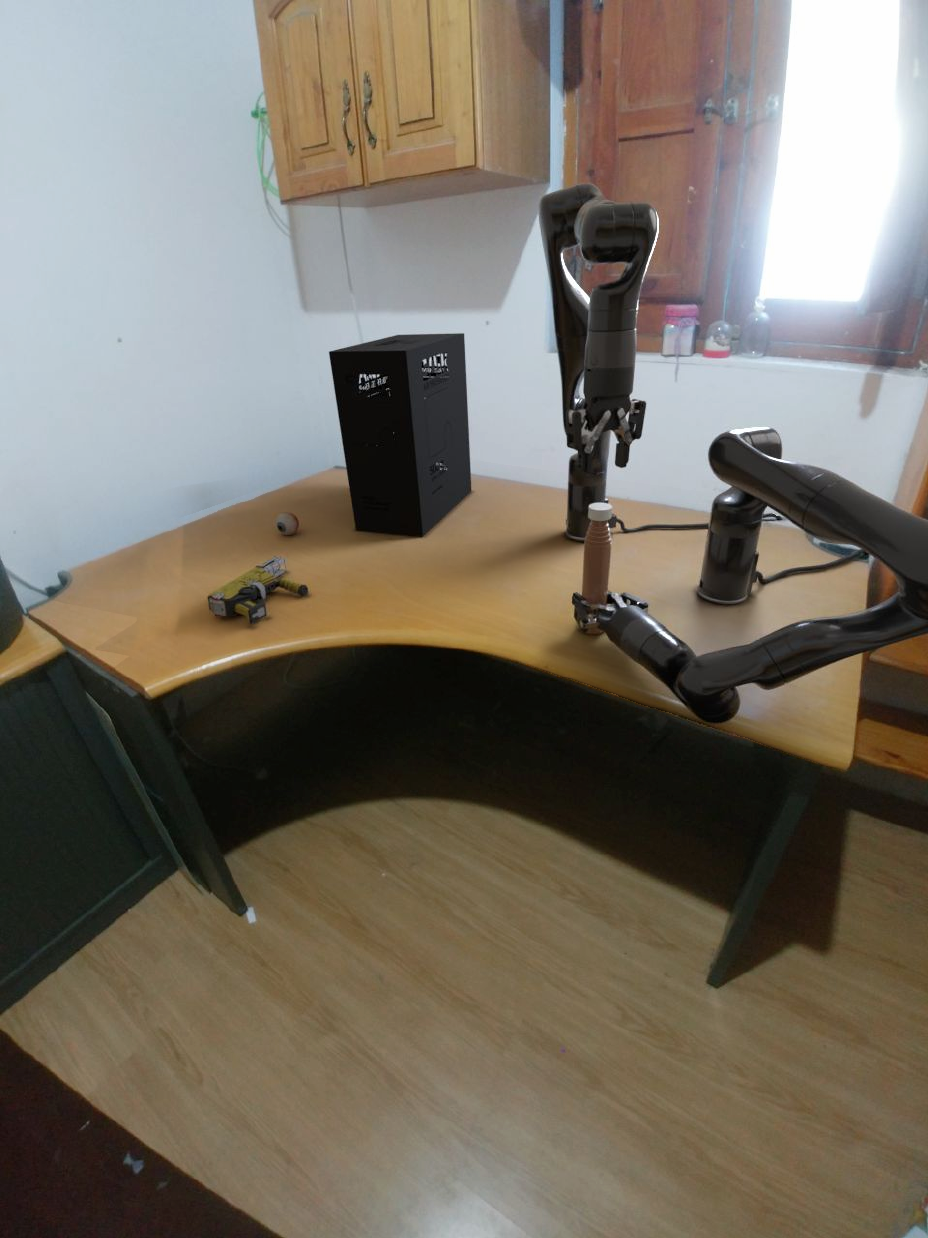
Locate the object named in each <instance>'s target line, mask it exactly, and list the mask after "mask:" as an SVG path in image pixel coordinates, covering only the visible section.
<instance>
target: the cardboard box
mask: <svg viewBox="0 0 928 1238" xmlns="http://www.w3.org/2000/svg"><path fill="white" fill-rule="evenodd" d="M465 340H466V339H465V333H464V332H462V333H461V332H460V333H459V332H458V333H457V332H455V333H415V334H414V333H412V334H396V335H392V336H387V337H383V338H380V339H376V340H370V341H366V342H362V343H358V344H354V345H351V346H345V347H341V348H338V349H333V350H330V351H328V356H329V362H330V363H329V364H330V369H331V376H332V382H333V389H334V396H335V402H336V409H337V416H338V421H339V429H340V436H341V441H342V449H343V455H344V463H345V468H346V469H345V470H346V475H347V481H348V488H349V489H348V490H349V495H350V503H351V508H352V515H353V522H354V529H355V531H363V532H366V531H367V532H374V533H385V534H397V535H405V536H406V535H407V536H416V537H417V536H418V537H424V536H425V535H426V534H428V532H429V531H430V530H432V529H433V528H434V527H435V526H436V525H437V524H439V522H440V521H441V520H443V518H445V517H446V516H447V515H448V514H449V513H450V512H451V511H452V510H453V509H454V508H456V506H458V505H459V503H461V502H462V501H463V500H464V499H465V498H466V497H467V496H468V495H470V494H471V492H472V472H471V449H470V448H471V447H470V430H469V429H470V428H469V407H468V405H469V404H468V386H467V385H468V384H467V366H466V365H467V363H466V362H467V361H466V343H465V342H466V341H465ZM434 357H435V358H434ZM430 358H431V363H430ZM424 360H425V361H426V362H425V361H424ZM442 361H443V363H442ZM435 363H436V365H435ZM430 364H431V365H430ZM373 375H375V377H374V376H373ZM370 376H371V377H370Z"/></svg>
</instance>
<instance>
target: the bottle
mask: <svg viewBox="0 0 928 1238" xmlns="http://www.w3.org/2000/svg"><path fill="white" fill-rule="evenodd" d="M607 521H608V520H606V521H595V520H591V523H590V526H589V528H588V531H587V535H586V537H585V541H583V543H584V544H583V562H582V563H583V564H582V579H581V580H582V582H581V596H583V597H584V598H585V599H586V600H587V601H589V602H591V603H595V602H597V603H600V604H602V605H604V606H608V605H607V598H608V590H609V584H610V573H611V572H610V570H611V569H610V568H611V558H612V545H613V544H612V543H613V541H612V536H611V533H612V532H611V531H610V530H611V529H610V528H609V524H608V523H607ZM588 611H590V608H588ZM603 632H604V631H602V630H599V629H598V628H597V627H590V628H588V632H584V633H586V634H589V635H599V634H601V633H603Z"/></svg>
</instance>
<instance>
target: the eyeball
mask: <svg viewBox="0 0 928 1238" xmlns="http://www.w3.org/2000/svg"><path fill="white" fill-rule="evenodd" d="M299 525H300V522H299V519H298V517H297V516H296V515H295V514H294V513H292V512H287V511H286V512H282V513H280V514H279V515H278V516H277V517H276V520H275V527H276V529H277V530H278V531H279V532H280V533H281V534H282V535H285V536H286V535H287V536H289V535H293V534H295V533H296V532H297V531H298V529H299Z"/></svg>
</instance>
